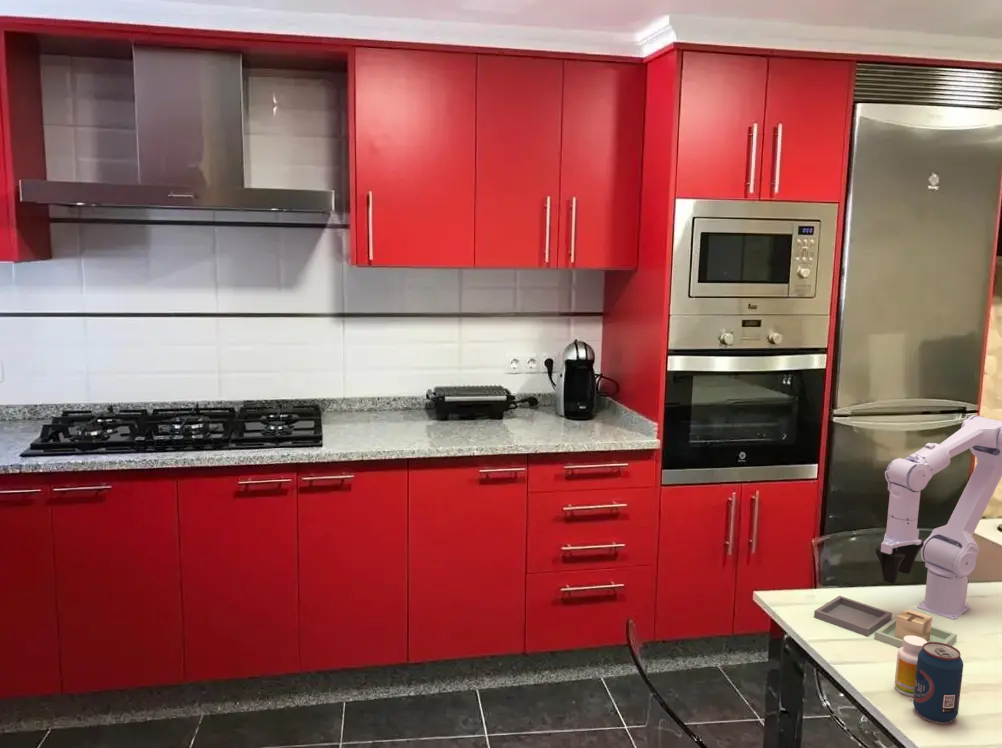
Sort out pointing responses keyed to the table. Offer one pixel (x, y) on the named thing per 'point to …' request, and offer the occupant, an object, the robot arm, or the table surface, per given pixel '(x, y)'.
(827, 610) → the charcoal tray
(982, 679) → the table surface
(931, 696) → the soda can
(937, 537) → the robot arm
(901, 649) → the supplement bottle
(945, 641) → the sage tray
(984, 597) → the table surface
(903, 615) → the letter cube
